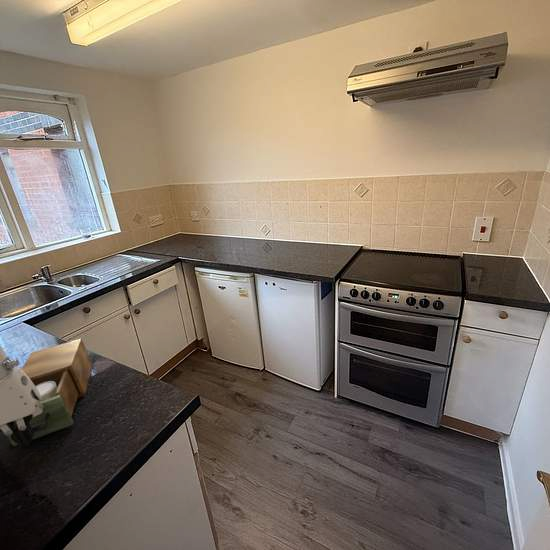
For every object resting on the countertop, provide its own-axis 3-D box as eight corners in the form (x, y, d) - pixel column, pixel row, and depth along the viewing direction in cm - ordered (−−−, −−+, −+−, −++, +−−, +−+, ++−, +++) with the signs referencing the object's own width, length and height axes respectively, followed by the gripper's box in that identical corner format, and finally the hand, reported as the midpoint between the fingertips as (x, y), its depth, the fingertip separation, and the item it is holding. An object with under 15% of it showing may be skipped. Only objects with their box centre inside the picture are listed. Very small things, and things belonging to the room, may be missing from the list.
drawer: (69, 438, 70) (54, 410, 67) (5, 463, 66) (-14, 434, 63) (83, 388, 87) (71, 364, 84) (33, 405, 83) (19, 380, 80)
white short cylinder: (56, 398, 83) (46, 378, 80) (71, 404, 80) (61, 383, 77) (29, 417, 77) (17, 396, 75) (43, 424, 74) (31, 403, 71)
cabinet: (85, 395, 85) (71, 365, 82) (29, 414, 81) (11, 383, 77) (92, 365, 99) (81, 338, 95) (45, 380, 95) (31, 352, 91)
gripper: (37, 351, 64) (69, 415, 71) (-51, 376, 59) (-7, 442, 66) (25, 371, 58) (62, 439, 64) (-75, 401, 53) (-24, 472, 60)
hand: (27, 441), depth 65 cm, fingers closed
